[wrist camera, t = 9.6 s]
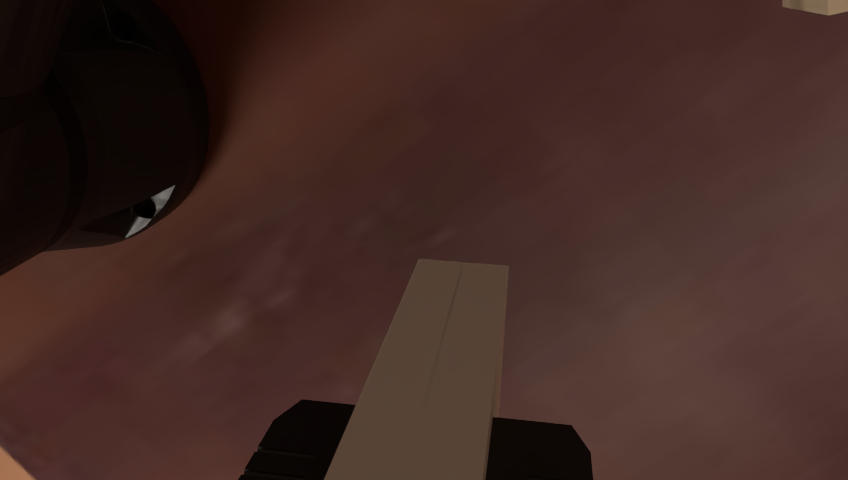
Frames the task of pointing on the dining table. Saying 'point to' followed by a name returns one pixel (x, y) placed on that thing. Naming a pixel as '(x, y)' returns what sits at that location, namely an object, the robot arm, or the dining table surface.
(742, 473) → the dining table surface
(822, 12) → the maple cube
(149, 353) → the dining table surface
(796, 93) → the dining table surface
